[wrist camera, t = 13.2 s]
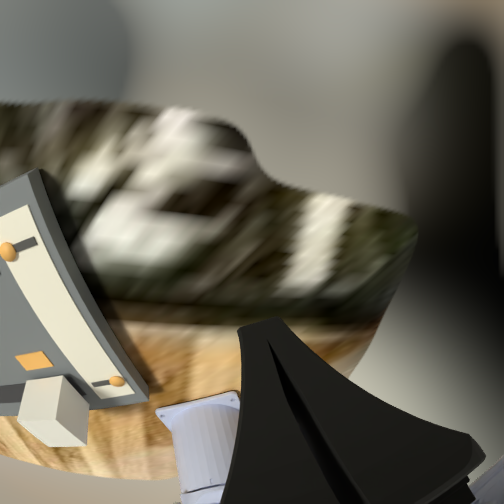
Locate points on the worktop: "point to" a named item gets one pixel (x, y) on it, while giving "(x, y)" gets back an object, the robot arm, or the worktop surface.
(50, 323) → the switch unit
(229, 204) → the worktop surface
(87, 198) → the worktop surface
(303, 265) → the worktop surface
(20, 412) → the white cube
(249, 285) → the worktop surface
